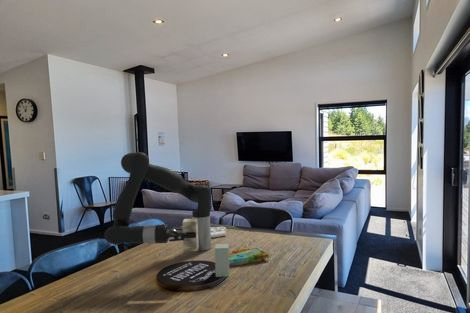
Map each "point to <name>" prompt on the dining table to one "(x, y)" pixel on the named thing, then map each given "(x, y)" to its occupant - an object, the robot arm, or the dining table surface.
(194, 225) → the birch block
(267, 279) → the dining table surface
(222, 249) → the sage block
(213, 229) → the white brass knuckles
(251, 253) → the puzzle game
